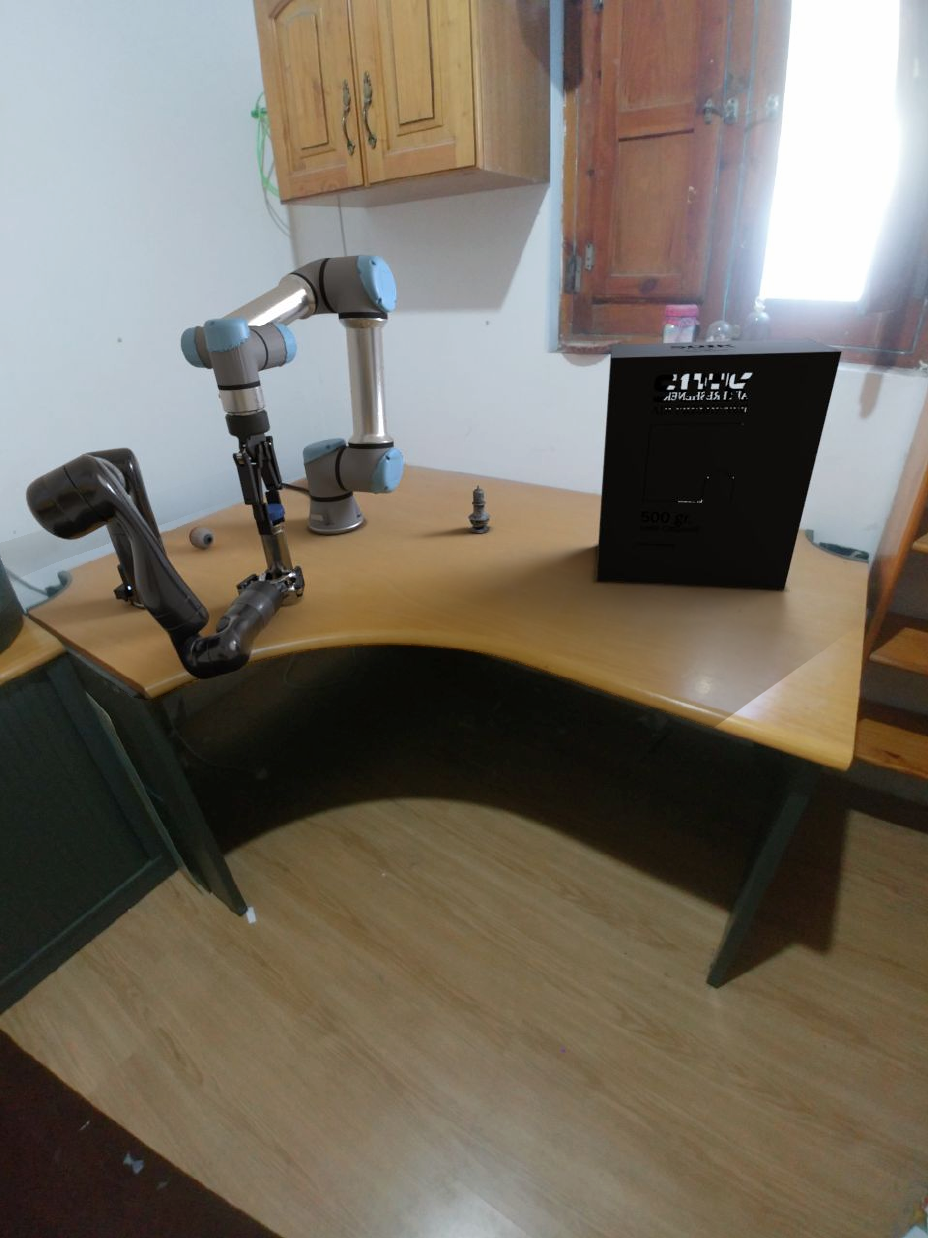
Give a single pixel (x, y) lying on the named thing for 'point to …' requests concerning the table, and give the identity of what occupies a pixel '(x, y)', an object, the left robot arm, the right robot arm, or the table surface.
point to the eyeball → (201, 537)
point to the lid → (275, 511)
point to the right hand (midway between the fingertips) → (272, 527)
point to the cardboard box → (710, 460)
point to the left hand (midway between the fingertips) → (286, 570)
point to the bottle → (278, 556)
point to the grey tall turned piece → (479, 513)
